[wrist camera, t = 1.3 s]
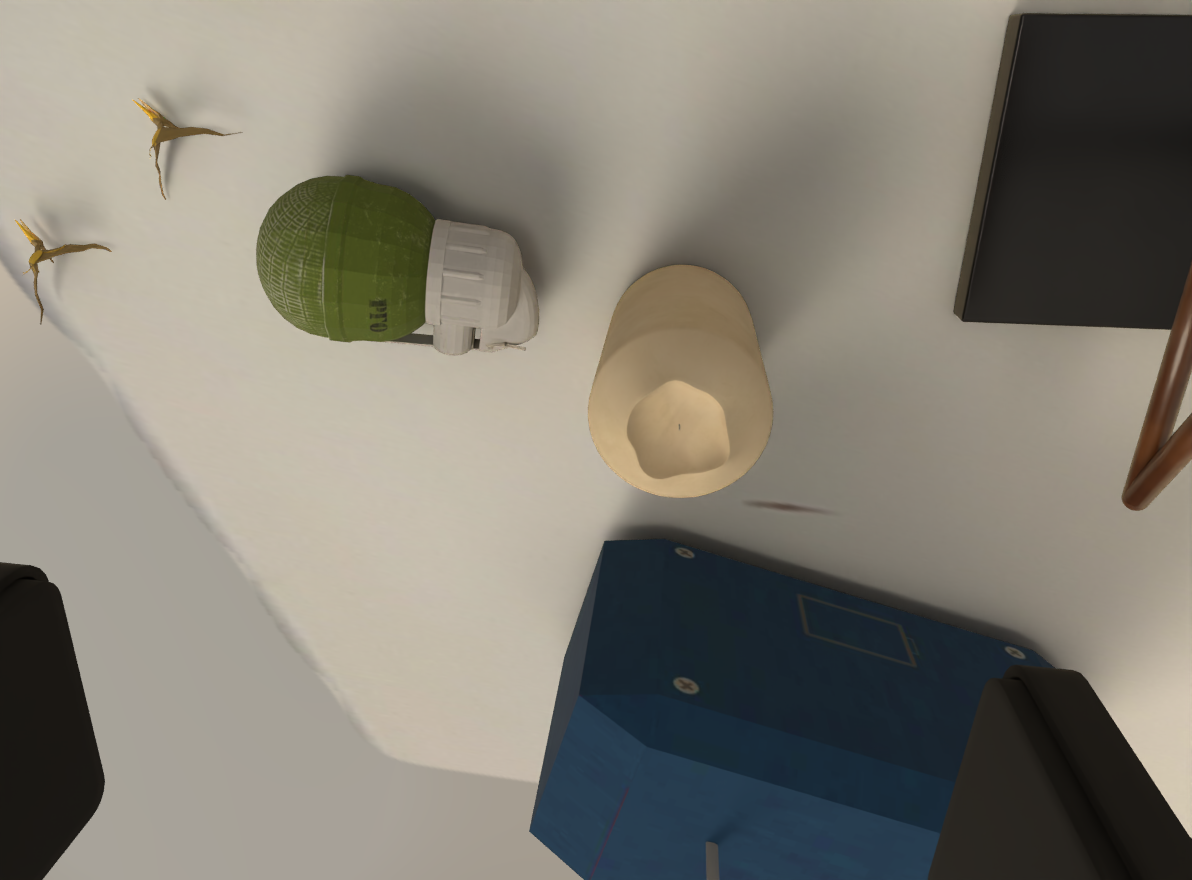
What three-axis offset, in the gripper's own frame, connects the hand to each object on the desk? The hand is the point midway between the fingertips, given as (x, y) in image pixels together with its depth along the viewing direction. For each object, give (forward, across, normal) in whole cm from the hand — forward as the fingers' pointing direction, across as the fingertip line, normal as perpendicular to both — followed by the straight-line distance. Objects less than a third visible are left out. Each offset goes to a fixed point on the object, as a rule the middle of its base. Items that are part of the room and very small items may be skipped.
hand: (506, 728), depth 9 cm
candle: (+26, -2, +3) cm, 26 cm away
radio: (+26, -9, +18) cm, 33 cm away
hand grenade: (+22, +13, 0) cm, 26 cm away
